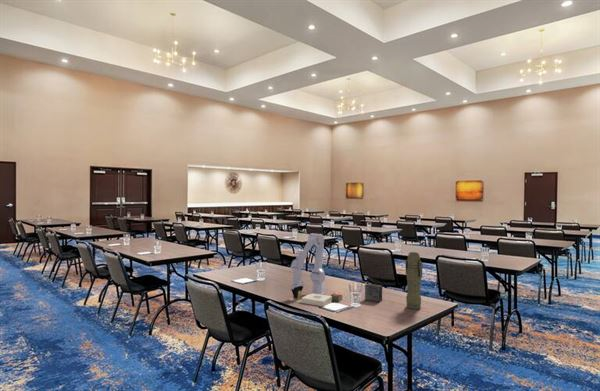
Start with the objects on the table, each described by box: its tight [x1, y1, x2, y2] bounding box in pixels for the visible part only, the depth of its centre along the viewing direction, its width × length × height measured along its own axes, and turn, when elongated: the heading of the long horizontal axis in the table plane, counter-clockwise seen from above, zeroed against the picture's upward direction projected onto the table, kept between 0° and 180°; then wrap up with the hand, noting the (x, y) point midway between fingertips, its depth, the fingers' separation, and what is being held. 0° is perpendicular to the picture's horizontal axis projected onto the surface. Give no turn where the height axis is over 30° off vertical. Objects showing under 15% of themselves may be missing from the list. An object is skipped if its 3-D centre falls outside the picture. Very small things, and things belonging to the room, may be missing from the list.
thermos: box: [405, 251, 423, 310], centre depth 232 cm, size 9×12×35 cm
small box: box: [364, 283, 383, 303], centre depth 247 cm, size 11×6×10 cm, turn 59°
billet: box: [292, 290, 302, 301], centre depth 246 cm, size 4×4×6 cm
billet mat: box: [288, 297, 303, 303], centre depth 246 cm, size 9×9×1 cm
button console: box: [329, 293, 343, 303], centre depth 247 cm, size 7×7×3 cm
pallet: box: [301, 292, 333, 307], centre depth 241 cm, size 14×16×4 cm
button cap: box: [332, 292, 340, 297], centre depth 247 cm, size 4×4×2 cm
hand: (297, 297), depth 246 cm, fingers closed on billet, 4 cm apart
